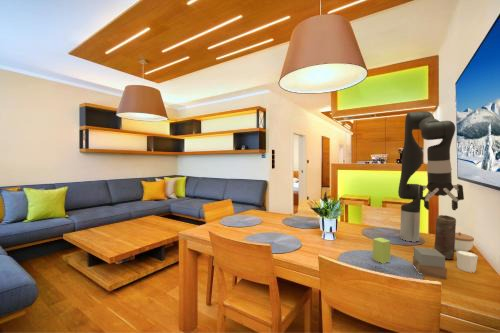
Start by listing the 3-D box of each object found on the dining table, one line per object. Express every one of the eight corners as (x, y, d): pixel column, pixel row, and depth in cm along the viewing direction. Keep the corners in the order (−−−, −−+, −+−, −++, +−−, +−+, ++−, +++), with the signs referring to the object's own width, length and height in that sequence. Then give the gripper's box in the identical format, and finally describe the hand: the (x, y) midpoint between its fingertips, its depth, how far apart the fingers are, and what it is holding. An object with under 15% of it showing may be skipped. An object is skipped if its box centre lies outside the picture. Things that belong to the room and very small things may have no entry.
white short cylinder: (466, 265, 101) (466, 250, 101) (482, 273, 94) (482, 256, 94) (451, 265, 101) (451, 250, 101) (466, 273, 94) (467, 257, 94)
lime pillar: (372, 259, 107) (373, 238, 107) (380, 257, 109) (380, 237, 108) (382, 264, 102) (382, 242, 102) (389, 262, 104) (390, 241, 104)
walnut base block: (412, 265, 101) (413, 256, 101) (437, 269, 98) (437, 259, 98) (419, 275, 93) (419, 264, 93) (446, 279, 90) (446, 268, 89)
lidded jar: (459, 246, 124) (459, 229, 123) (479, 254, 113) (480, 235, 113) (440, 246, 123) (440, 229, 123) (458, 254, 113) (459, 236, 112)
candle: (455, 257, 109) (456, 216, 108) (453, 262, 104) (455, 219, 103) (435, 252, 115) (436, 214, 114) (432, 257, 110) (434, 216, 109)
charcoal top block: (413, 256, 100) (413, 247, 100) (435, 259, 98) (435, 249, 98) (421, 265, 93) (421, 254, 92) (444, 267, 90) (445, 256, 90)
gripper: (458, 168, 91) (459, 207, 93) (415, 170, 98) (417, 206, 100) (465, 171, 85) (466, 213, 86) (419, 173, 92) (421, 211, 93)
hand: (440, 209), depth 93 cm, fingers open, 8 cm apart
